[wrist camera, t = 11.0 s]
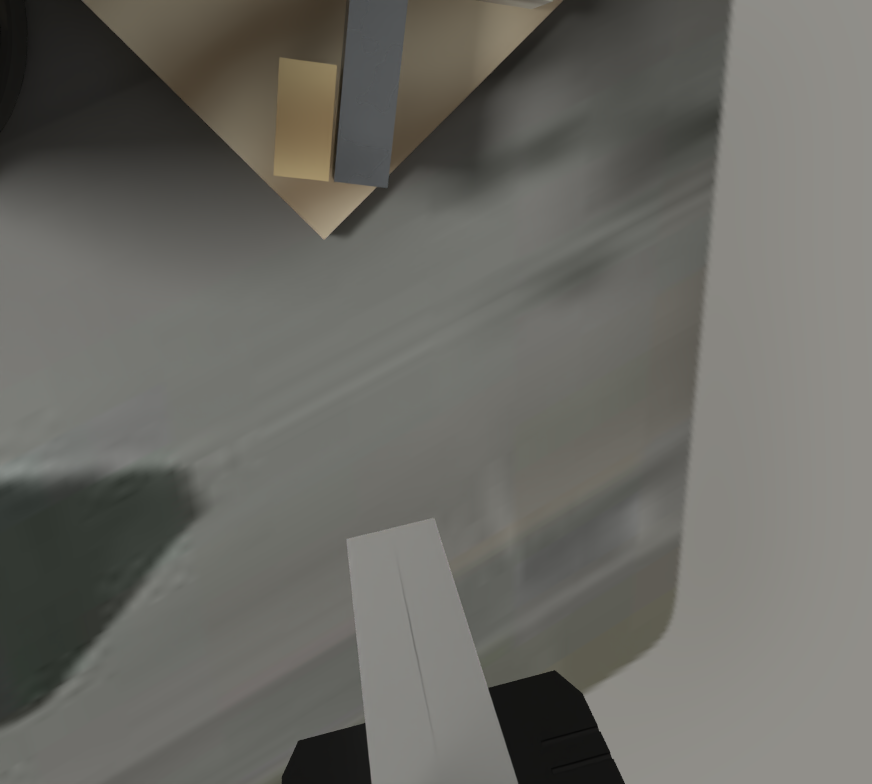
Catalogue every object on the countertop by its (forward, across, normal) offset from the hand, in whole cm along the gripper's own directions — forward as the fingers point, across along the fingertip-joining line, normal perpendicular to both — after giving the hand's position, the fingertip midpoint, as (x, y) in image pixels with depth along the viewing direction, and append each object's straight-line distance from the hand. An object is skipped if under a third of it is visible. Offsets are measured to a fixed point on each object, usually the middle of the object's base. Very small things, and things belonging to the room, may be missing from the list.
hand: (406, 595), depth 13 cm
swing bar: (+21, -3, -10) cm, 24 cm away
